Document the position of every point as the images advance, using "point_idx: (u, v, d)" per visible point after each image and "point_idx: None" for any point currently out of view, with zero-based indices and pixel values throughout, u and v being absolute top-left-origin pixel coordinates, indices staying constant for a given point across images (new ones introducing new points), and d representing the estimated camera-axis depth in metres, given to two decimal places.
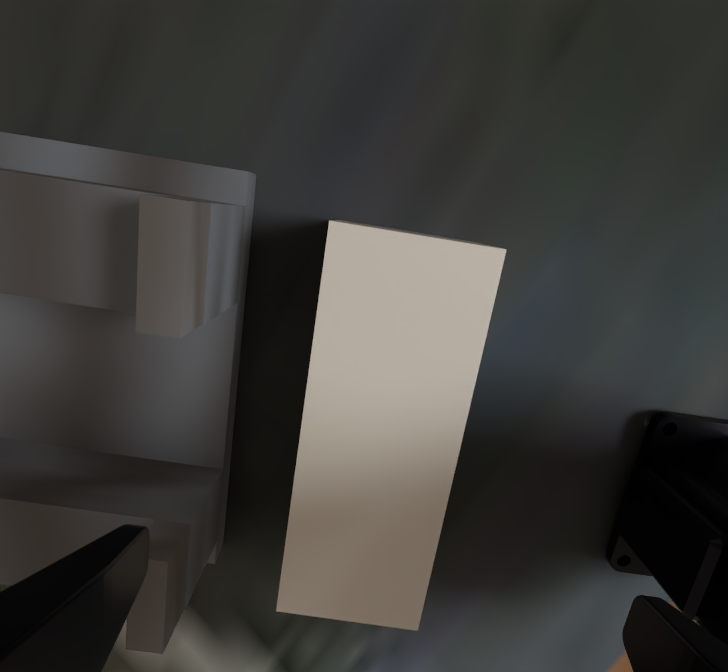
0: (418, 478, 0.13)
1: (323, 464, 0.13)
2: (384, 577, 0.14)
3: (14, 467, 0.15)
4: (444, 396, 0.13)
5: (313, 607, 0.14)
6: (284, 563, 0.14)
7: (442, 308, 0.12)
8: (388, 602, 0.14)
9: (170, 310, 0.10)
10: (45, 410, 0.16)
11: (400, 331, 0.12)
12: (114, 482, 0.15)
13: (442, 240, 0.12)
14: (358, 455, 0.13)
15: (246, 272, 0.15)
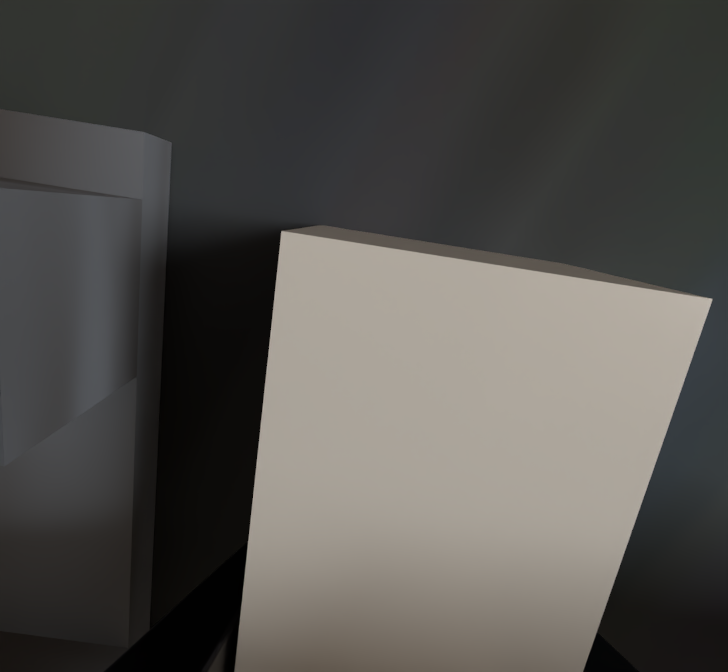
0: None
1: None
2: None
3: None
4: (543, 609, 0.06)
5: None
6: None
7: (549, 431, 0.05)
8: None
9: None
10: None
11: (450, 481, 0.05)
12: None
13: (558, 278, 0.05)
14: None
15: (157, 318, 0.09)
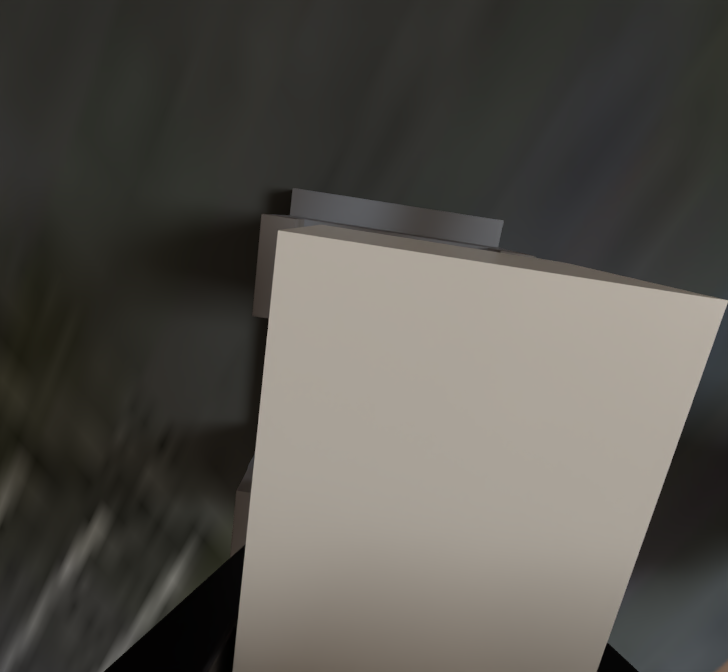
0: None
1: None
2: None
3: None
4: (550, 622, 0.06)
5: None
6: None
7: (557, 438, 0.05)
8: None
9: None
10: None
11: (454, 490, 0.05)
12: None
13: (567, 279, 0.05)
14: None
15: None
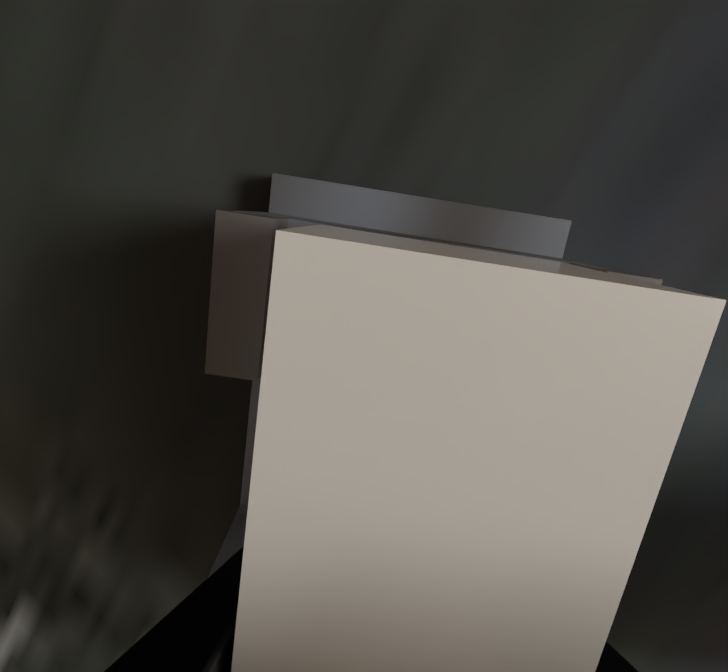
0: None
1: None
2: None
3: None
4: (548, 622, 0.06)
5: None
6: None
7: (555, 437, 0.05)
8: None
9: None
10: None
11: (452, 490, 0.05)
12: None
13: (565, 278, 0.05)
14: None
15: None
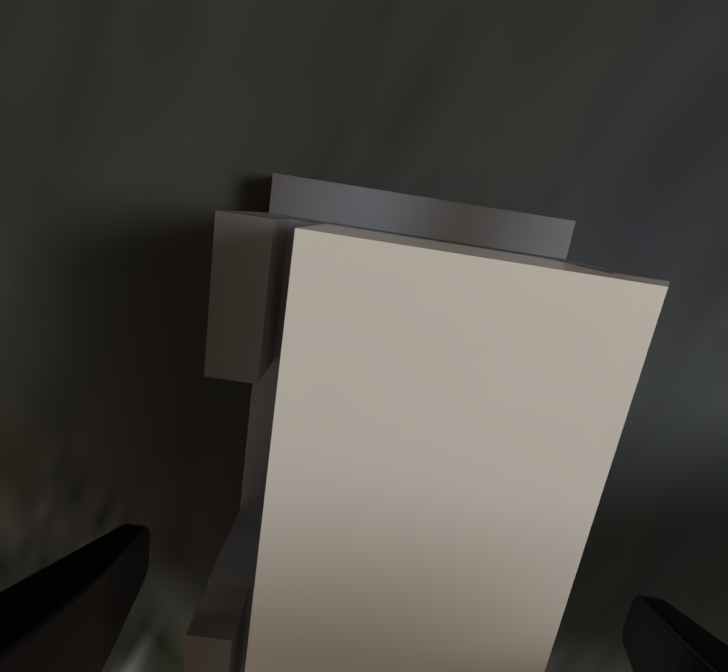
0: None
1: None
2: None
3: None
4: (525, 564, 0.07)
5: None
6: None
7: (528, 403, 0.06)
8: None
9: None
10: None
11: (442, 448, 0.06)
12: None
13: (534, 268, 0.05)
14: (360, 664, 0.07)
15: None
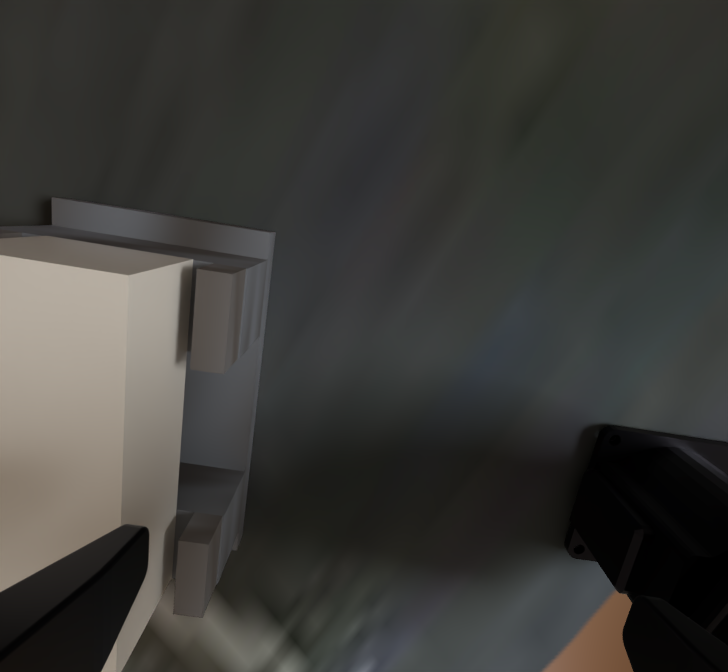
0: (83, 522, 0.12)
1: None
2: None
3: None
4: (93, 434, 0.11)
5: None
6: None
7: (71, 339, 0.11)
8: None
9: (216, 353, 0.14)
10: None
11: (30, 364, 0.11)
12: None
13: (54, 265, 0.10)
14: (13, 497, 0.12)
15: (265, 310, 0.19)
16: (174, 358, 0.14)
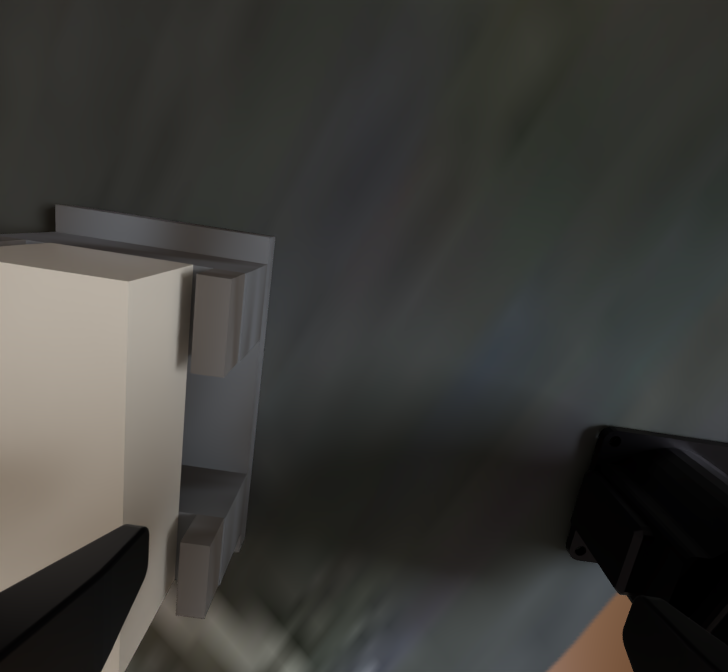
0: (85, 524, 0.12)
1: None
2: None
3: None
4: (95, 437, 0.12)
5: None
6: None
7: (73, 344, 0.11)
8: None
9: (216, 357, 0.14)
10: None
11: (33, 369, 0.11)
12: None
13: (56, 272, 0.11)
14: (17, 500, 0.12)
15: (266, 314, 0.19)
16: (175, 362, 0.14)
